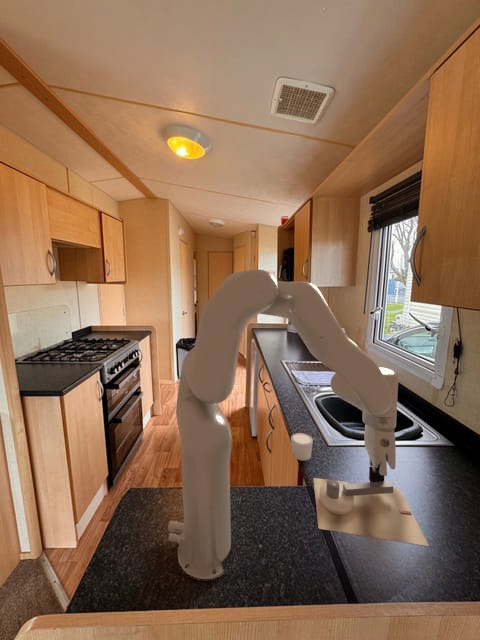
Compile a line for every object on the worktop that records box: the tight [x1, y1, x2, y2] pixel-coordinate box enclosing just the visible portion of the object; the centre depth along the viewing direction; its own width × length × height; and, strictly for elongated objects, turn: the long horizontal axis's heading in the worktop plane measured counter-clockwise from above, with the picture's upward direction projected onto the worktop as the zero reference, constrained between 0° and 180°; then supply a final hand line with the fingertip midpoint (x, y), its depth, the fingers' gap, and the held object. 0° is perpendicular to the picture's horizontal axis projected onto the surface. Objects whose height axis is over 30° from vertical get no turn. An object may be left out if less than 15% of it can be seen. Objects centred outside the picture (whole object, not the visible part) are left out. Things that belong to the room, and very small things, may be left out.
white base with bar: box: [320, 479, 395, 515], centre depth 67 cm, size 18×8×5 cm, turn 94°
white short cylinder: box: [290, 432, 314, 461], centre depth 85 cm, size 7×7×7 cm
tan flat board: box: [313, 477, 430, 547], centre depth 65 cm, size 22×16×2 cm
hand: (376, 482), depth 70 cm, fingers closed
